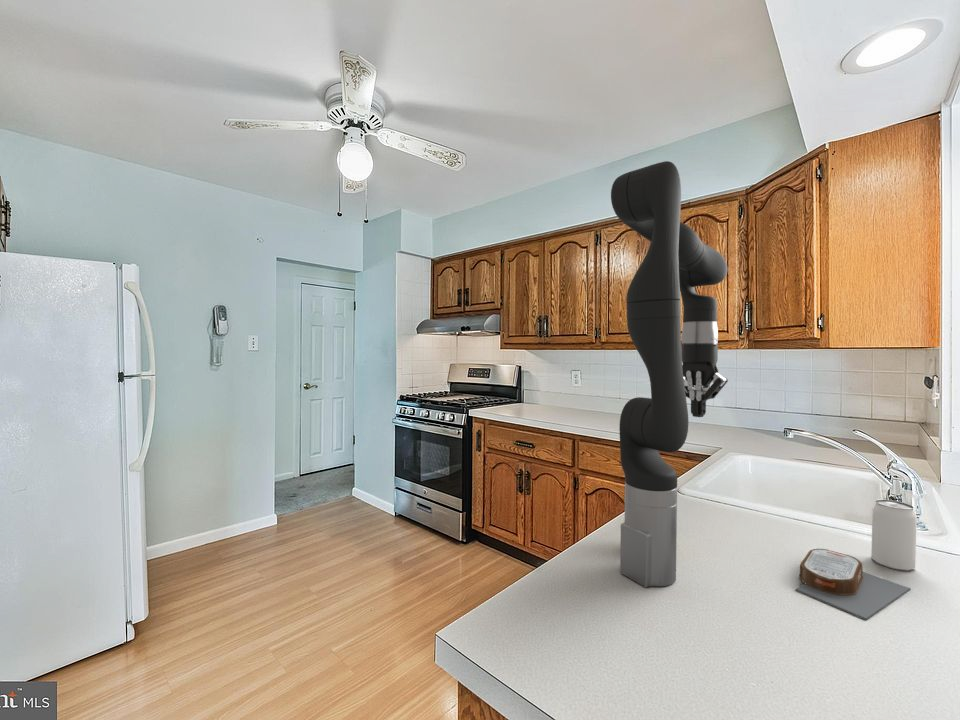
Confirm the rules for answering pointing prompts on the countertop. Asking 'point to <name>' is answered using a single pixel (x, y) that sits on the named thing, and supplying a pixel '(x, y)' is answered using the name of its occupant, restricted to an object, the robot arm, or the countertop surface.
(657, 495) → the robot arm
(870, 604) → the mat
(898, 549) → the can
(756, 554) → the countertop surface
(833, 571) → the tin
